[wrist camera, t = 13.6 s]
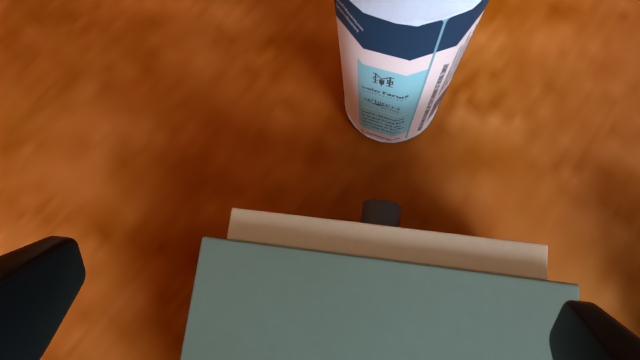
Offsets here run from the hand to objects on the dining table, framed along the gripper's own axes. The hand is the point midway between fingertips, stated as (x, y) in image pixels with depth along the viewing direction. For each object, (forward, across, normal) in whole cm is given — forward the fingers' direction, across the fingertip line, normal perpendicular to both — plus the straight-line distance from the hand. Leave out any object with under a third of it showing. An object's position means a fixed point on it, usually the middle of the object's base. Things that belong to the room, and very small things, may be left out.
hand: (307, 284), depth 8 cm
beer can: (+16, -2, +2) cm, 16 cm away
